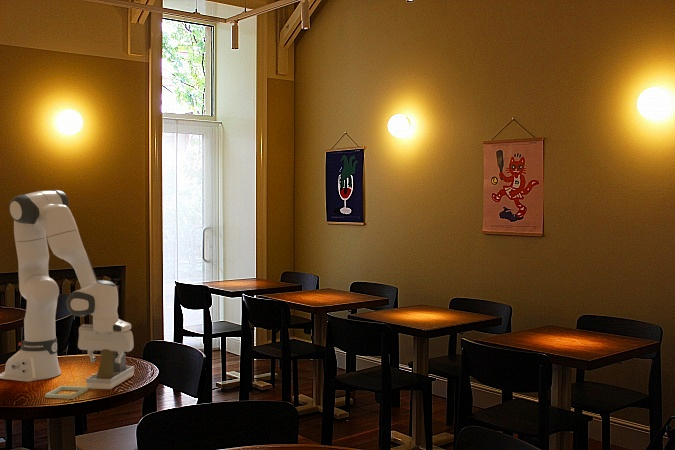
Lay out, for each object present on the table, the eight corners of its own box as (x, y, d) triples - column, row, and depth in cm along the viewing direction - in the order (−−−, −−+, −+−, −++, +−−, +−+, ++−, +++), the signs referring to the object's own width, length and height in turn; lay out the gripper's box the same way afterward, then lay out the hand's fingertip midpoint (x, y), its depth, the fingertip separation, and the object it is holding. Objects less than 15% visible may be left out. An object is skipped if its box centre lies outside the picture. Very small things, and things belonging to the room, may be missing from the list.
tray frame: (45, 397, 248) (45, 394, 248) (61, 389, 258) (61, 385, 258) (72, 398, 247) (72, 395, 246) (87, 390, 257) (87, 387, 257)
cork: (99, 376, 266) (103, 346, 267) (115, 378, 266) (119, 348, 266) (93, 378, 260) (97, 348, 261) (110, 380, 260) (113, 350, 260)
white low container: (85, 388, 259) (84, 377, 259) (110, 374, 278) (109, 364, 278) (111, 389, 258) (110, 378, 257) (134, 375, 276) (134, 365, 276)
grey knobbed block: (107, 374, 270) (106, 350, 270) (113, 371, 275) (113, 347, 275) (120, 374, 269) (119, 351, 269) (126, 371, 274) (125, 348, 274)
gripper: (74, 325, 261) (74, 363, 262) (128, 327, 259) (128, 365, 259) (83, 322, 268) (83, 359, 268) (135, 324, 265) (135, 361, 266)
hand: (105, 362), depth 264 cm, fingers open, 8 cm apart
